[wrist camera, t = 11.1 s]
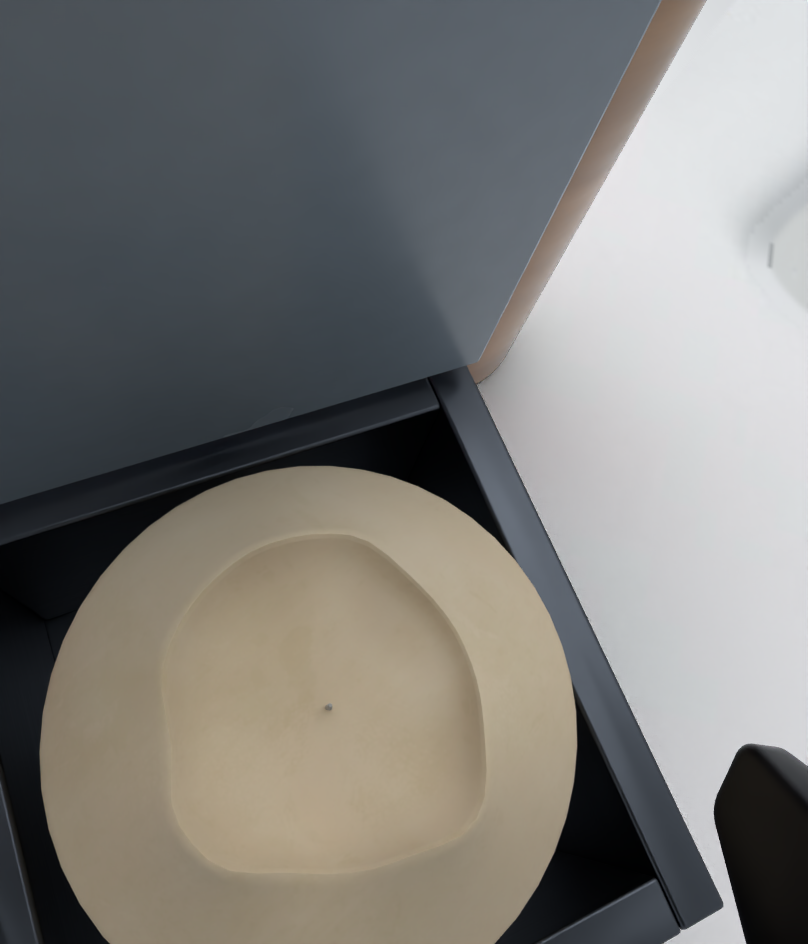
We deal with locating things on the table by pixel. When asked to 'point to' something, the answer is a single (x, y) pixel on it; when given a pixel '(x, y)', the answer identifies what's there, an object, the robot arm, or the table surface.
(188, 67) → the lid
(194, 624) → the candle
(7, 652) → the open box
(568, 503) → the table surface
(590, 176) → the tall beige cylinder
